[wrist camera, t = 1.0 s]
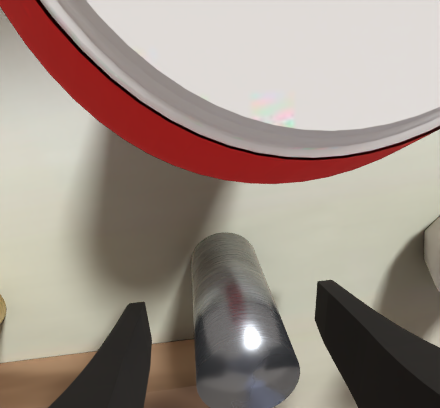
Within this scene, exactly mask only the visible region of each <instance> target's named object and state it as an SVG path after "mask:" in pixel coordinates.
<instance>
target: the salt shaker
mask: <svg viewBox="0 0 440 408" xmlns="http://www.w3.org/2000/svg"><path fill="white" fill-rule="evenodd" d="M424 260H425V262H426V265H427V267H428V270H429V272H430V274H431V277H432V279H433V282H434V284H435V287H436V288H437V290H438V291H439V292H440V217H439V218H437V219H436V220H435V221H434V222H433V223H432V224H431V225H430V226H429V227H428V228H427V229H426V230H425V231H424Z"/></svg>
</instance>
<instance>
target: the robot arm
mask: <svg viewBox="0 0 440 408" xmlns="http://www.w3.org/2000/svg"><path fill="white" fill-rule="evenodd" d="M315 321H316V324H317V327H318V329H319V332H320V334H321V337H322V339H323V342H324V344H325V346H326V348H327V350H328V351H329V353H330V355H331V357H332V359H333V361H334V363H335V364H336V366H337V368H338V370H339V372H340V373H341V375H342V377H343V379H344V381H345V383H346V384H347V386H348V388H349V390H350V392H351V394H352V396H353V398H354V400H355V402H356V404H357V406H358V408H440V348H439V347H437V346H435V345H433V344H431V343H429V342H427V341H425V340H423V339H421V338H419V337H418V336H416V335H414V334H412V333H410V332H408V331H407V330H405V329H403V328H401V327H400V326H398V325H396V324H395V323H393V322H392V321H390V320H388V319H387V318H385V317H384V316H382V315H381V314H379V313H378V312H376V311H375V310H373V309H372V308H370V307H369V306H367V305H366V304H365V303H363V302H362V301H360V300H359V299H358V298H356V297H355V296H353V295H352V294H351V293H349V292H348V291H347V290H345V289H344V288H342V287H341V286H340V285H338V284H337V283H336V282H334V281H333V280H326V281H318V284H317V297H316V310H315ZM151 348H152V338H151V333H150V327H149V322H148V317H147V311H146V306H145V302H138V303H129V305H128V306H127V307H126V309H125V310H124V312H123V314H122V315H121V317H120V319H119V320H118V322H117V323H116V325H115V327H114V328H113V330H112V331H111V333H110V334H109V336H108V337H107V339H106V340H105V341H104V343H103V344H102V346H101V347H100V349H99V350H98V351H97V352H96V354H95V355H94V356H93V358H92V359H91V360H90V362H89V363H88V364H87V366H86V367H85V368H84V369H83V370H82V372H81V373H80V374H79V375H78V376H77V377H76V379H75V380H74V381H73V382H72V383H71V384H70V385H69V386H68V388H67V389H66V390H65V391H64V392H63V393H62V394H61V395H60V396H59V397H58V398H57V399H56V400H55V401H54V402H53V403H52V404H51V405H50V406H49V407H48V408H144V403H145V397H146V391H147V385H148V378H149V372H150V366H151Z"/></svg>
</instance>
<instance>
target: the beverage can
mask: <svg viewBox="0 0 440 408" xmlns="http://www.w3.org/2000/svg"><path fill="white" fill-rule="evenodd" d="M0 7H1V8H2V10H3V12H4V13H5V14H6V16H7V17H8V19H9V20H10V22H11V23H12V25H13V26H14V28H15V29H16V31H17V32H18V34H19V35H20V37H21V38H22V40H23V41H24V43H25V44H26V45H27V46H28V48H29V49H30V50H31V51H32V53H33V54H34V55H35V56H36V58H37V59H38V60H39V61H40V63H41V64H42V65H43V66H44V68H45V69H46V70H47V71H48V73H49V74H50V75H51V76H52V77H53V78H54V79H55V80H56V81H57V82H58V83H59V84H60V85H61V86H62V87H63V88H64V89H65V90H66V91H67V93H68V94H69V95H70V96H71V97H72V98H73V99H74V100H75V101H76V102H77V103H79V104H80V105H81V106H82V107H83V108H84V109H85V110H87V111H88V112H89V113H90V114H91V115H92V116H93V117H95V118H96V119H97V120H98V121H99V122H100V123H102V124H103V125H105V126H106V127H107V128H109V129H110V130H112V131H113V132H114V133H116V134H117V135H118V136H120V137H121V138H123V139H124V140H126V141H127V142H129V143H131V144H133V145H134V146H136V147H138V148H139V149H141V150H143V151H144V152H146V153H148V154H150V155H152V156H154V157H156V158H158V159H161V160H163V161H165V162H167V163H169V164H171V165H174V166H177V167H180V168H182V169H185V170H188V171H191V172H194V173H197V174H201V175H205V176H209V177H213V178H218V179H222V180H228V181H236V182H244V183H259V184H279V183H292V182H303V181H309V180H314V179H320V178H325V177H330V176H333V175H337V174H340V173H344V172H347V171H350V170H354V169H357V168H359V167H362V166H364V165H367V164H369V163H372V162H374V161H377V160H379V159H382V158H384V157H386V156H388V155H390V154H392V153H394V152H396V151H398V150H400V149H402V148H404V147H406V146H408V145H410V144H412V143H413V142H415V141H417V140H419V139H421V138H423V137H425V136H427V135H429V134H431V133H433V132H435V131H437V130H439V129H440V0H0Z"/></svg>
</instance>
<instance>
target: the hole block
mask: <svg viewBox="0 0 440 408" xmlns="http://www.w3.org/2000/svg"><path fill="white" fill-rule="evenodd" d="M96 352H97V351H95V352H87V353H79V354H71V355H63V356H55V357H47V358H39V359H31V360H23V361H15V362H7V363H0V408H48V407H49V406H50V405H51V404H52V403H53V402H54V401H55V400H56V399H57V398H58V397H59V396H60V395H61V394H62V393H63V392H64V391H65V390H66V389H67V388H68V386H69V385H70V384H71V383H72V382H73V381H74V380H75V379H76V377H77V376H78V375H79V374H80V373H81V372H82V370H83V369H84V368H85V367H86V366H87V364H88V363H89V362H90V360H91V359H92V358H93V356H94V355H95V354H96ZM144 408H210V407H209V406H208V405H206V404H205V403H204V402H203V401H202V399H201V398H200V396H199V394H198V392H197V387H196V365H195V342H194V339H190V340H182V341H174V342H166V343H158V344H152V348H151V366H150V372H149V378H148V385H147V391H146V397H145V403H144Z"/></svg>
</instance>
